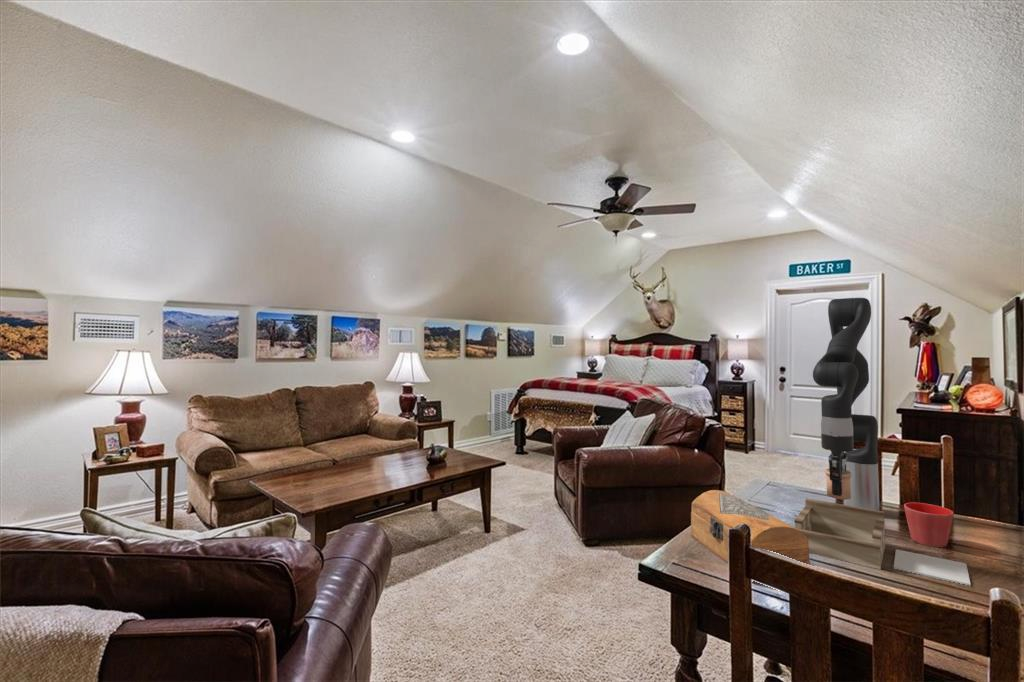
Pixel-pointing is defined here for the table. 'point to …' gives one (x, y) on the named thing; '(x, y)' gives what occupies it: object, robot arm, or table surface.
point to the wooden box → (726, 511)
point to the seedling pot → (845, 485)
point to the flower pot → (929, 523)
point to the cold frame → (843, 532)
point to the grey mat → (932, 567)
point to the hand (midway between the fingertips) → (838, 492)
